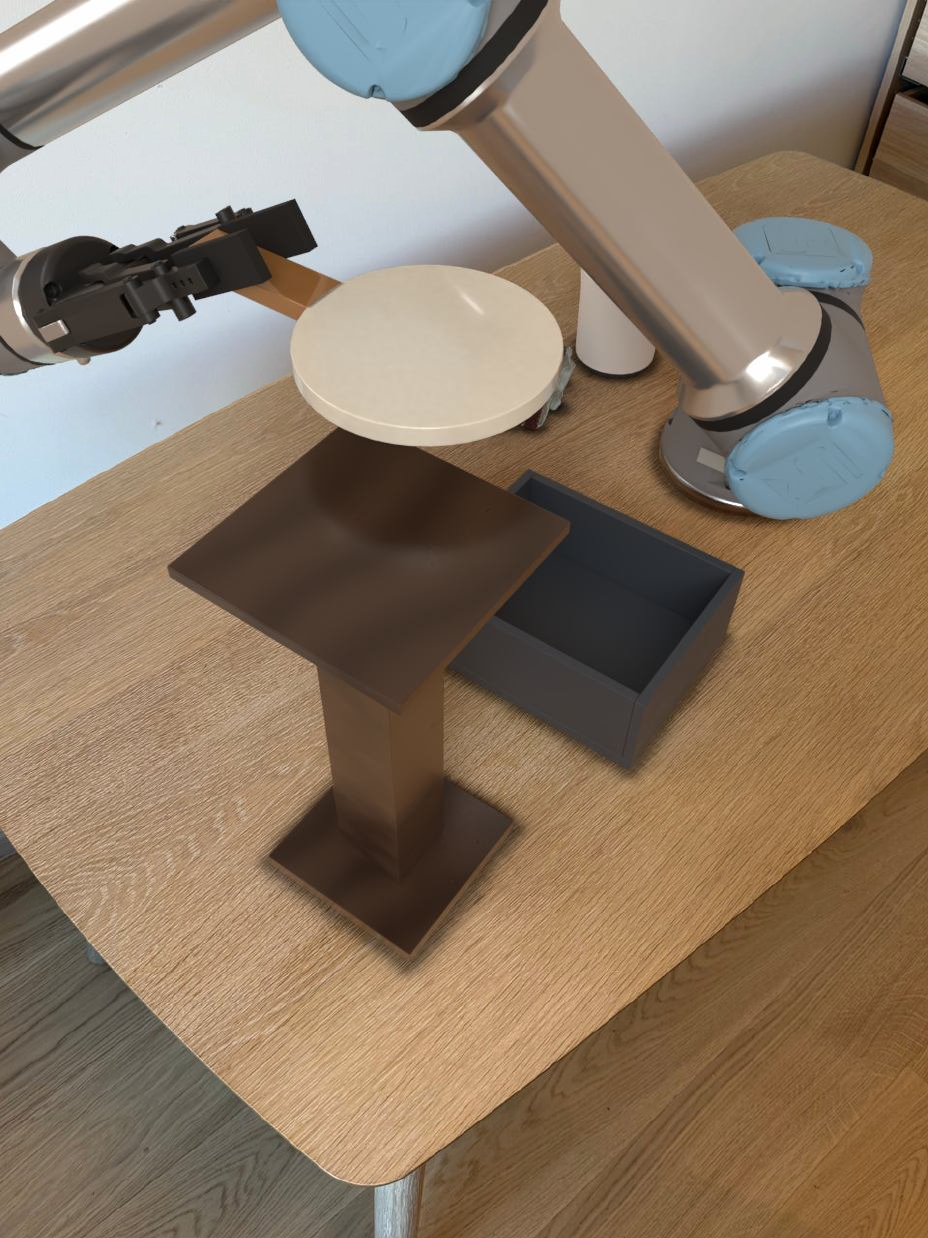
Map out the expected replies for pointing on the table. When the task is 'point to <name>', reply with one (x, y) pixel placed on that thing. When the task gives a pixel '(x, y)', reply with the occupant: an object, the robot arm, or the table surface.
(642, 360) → the mug
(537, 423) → the chocolate cake
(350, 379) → the round paddle with handle
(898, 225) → the table surface
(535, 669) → the tub
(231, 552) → the stand
